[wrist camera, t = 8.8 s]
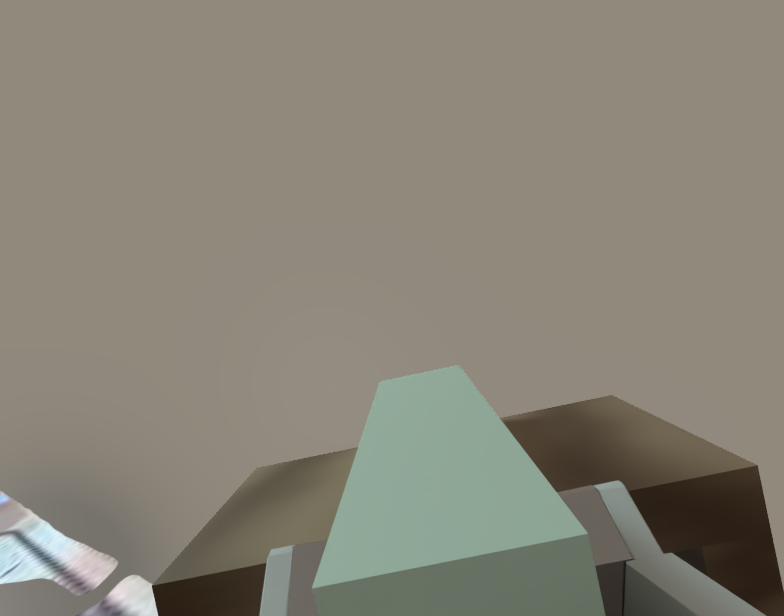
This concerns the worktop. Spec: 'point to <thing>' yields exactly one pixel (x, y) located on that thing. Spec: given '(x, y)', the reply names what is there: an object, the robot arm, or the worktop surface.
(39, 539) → the worktop surface
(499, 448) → the pale green bar
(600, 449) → the walnut shelf
